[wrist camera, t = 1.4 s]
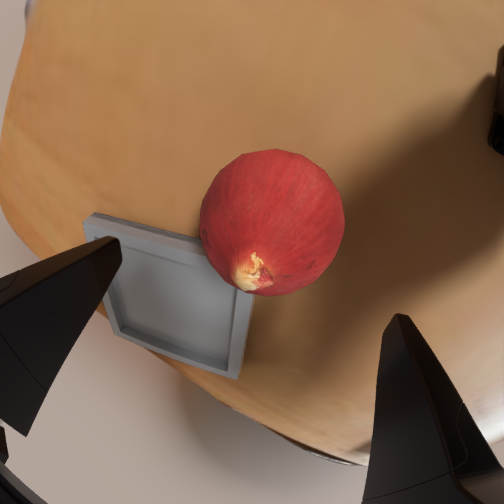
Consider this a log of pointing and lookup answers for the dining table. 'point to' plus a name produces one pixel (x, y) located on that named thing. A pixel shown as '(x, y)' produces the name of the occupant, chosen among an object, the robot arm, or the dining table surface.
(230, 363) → the dish
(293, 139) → the dining table surface
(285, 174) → the onion
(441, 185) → the dining table surface
